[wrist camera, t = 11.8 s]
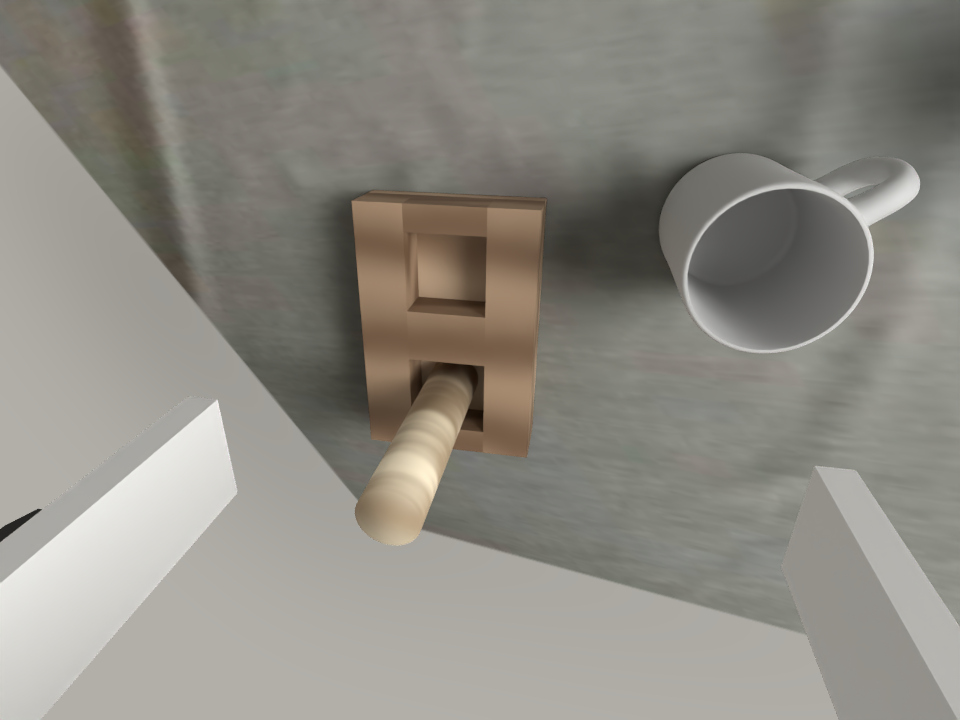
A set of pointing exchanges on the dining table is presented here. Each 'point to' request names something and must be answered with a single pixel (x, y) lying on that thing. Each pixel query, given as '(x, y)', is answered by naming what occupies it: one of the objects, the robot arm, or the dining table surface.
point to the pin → (417, 457)
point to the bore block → (451, 306)
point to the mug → (776, 245)
